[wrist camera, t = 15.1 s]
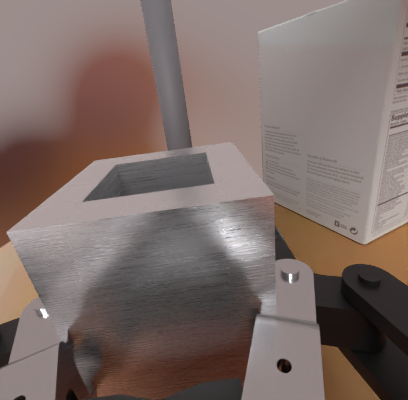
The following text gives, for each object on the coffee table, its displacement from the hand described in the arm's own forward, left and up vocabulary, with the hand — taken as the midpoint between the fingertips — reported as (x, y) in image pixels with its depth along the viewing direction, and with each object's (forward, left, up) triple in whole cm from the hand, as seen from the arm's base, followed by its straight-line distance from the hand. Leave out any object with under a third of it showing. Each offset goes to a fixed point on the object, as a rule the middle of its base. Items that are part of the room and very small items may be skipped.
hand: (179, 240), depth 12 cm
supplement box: (-17, -15, -8) cm, 24 cm away
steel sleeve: (0, +3, -6) cm, 7 cm away
